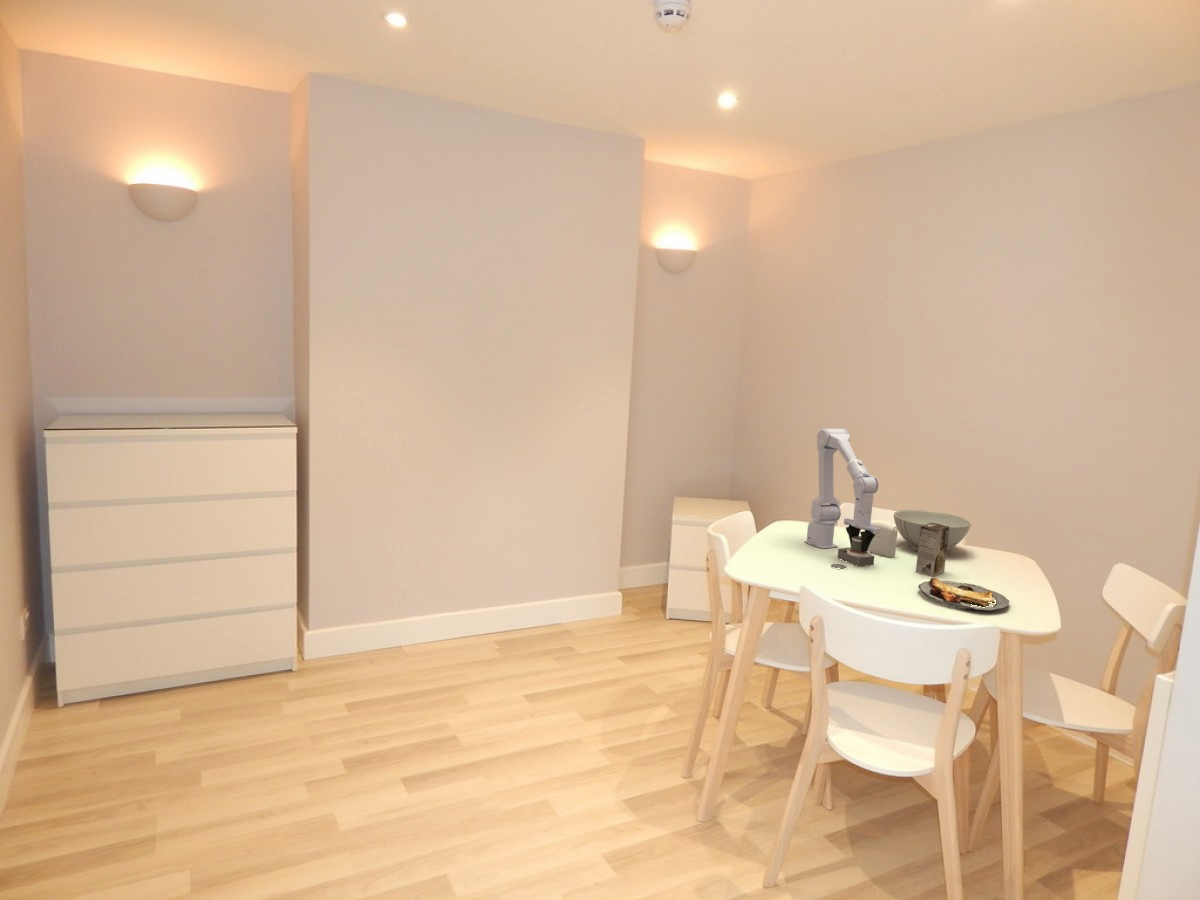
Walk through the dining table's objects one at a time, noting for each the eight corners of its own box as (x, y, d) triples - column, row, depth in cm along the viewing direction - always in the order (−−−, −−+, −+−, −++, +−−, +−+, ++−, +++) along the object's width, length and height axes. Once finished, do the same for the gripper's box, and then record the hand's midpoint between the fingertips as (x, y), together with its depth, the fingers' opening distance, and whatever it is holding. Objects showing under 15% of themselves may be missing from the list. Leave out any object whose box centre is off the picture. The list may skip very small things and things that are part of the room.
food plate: (910, 599, 232) (912, 587, 232) (926, 581, 252) (928, 571, 251) (1002, 622, 219) (1004, 610, 218) (1011, 601, 238) (1013, 590, 238)
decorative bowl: (878, 547, 291) (881, 515, 289) (907, 535, 310) (910, 506, 309) (951, 564, 273) (955, 531, 271) (977, 551, 292) (981, 520, 290)
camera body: (836, 558, 272) (837, 547, 272) (852, 556, 276) (853, 545, 275) (858, 566, 264) (859, 554, 263) (874, 564, 267) (875, 552, 267)
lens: (847, 552, 270) (849, 535, 269) (858, 552, 271) (860, 535, 270) (855, 556, 265) (857, 539, 265) (866, 555, 267) (868, 538, 266)
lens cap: (827, 566, 263) (827, 564, 263) (838, 565, 265) (838, 563, 265) (838, 571, 259) (838, 568, 259) (849, 569, 261) (849, 567, 261)
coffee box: (925, 567, 267) (931, 522, 265) (944, 572, 263) (950, 526, 260) (914, 572, 261) (920, 525, 258) (933, 577, 256) (939, 530, 254)
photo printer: (864, 551, 284) (868, 518, 282) (871, 549, 287) (874, 517, 285) (890, 558, 276) (894, 525, 274) (896, 556, 279) (900, 523, 277)
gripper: (838, 507, 271) (835, 544, 273) (870, 516, 258) (866, 556, 260) (853, 505, 274) (849, 543, 276) (885, 515, 261) (881, 554, 263)
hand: (858, 549), depth 268 cm, fingers closed on lens, 4 cm apart
